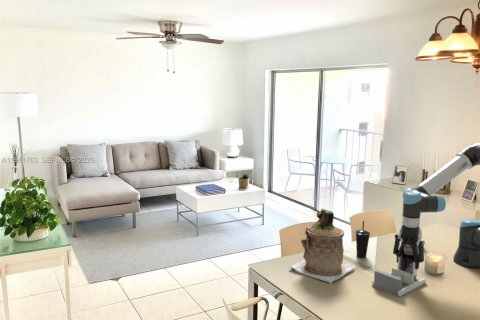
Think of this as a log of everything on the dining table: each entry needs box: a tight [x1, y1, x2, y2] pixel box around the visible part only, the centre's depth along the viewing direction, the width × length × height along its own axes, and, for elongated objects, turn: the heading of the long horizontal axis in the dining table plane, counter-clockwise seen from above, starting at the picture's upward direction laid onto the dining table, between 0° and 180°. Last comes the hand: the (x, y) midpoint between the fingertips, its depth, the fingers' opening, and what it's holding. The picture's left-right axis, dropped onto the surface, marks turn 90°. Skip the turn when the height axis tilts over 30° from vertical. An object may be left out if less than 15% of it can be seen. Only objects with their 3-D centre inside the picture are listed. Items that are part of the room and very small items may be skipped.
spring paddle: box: [391, 266, 414, 285], centre depth 189 cm, size 5×10×5 cm, turn 39°
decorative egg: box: [398, 226, 423, 248], centre depth 239 cm, size 12×12×15 cm
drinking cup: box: [355, 220, 371, 259], centre depth 221 cm, size 8×8×20 cm
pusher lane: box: [371, 269, 427, 298], centre depth 189 cm, size 22×14×7 cm, turn 129°
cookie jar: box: [289, 208, 356, 285], centre depth 202 cm, size 25×25×32 cm
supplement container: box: [400, 249, 415, 274], centre depth 192 cm, size 7×7×10 cm
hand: (406, 272), depth 193 cm, fingers closed on supplement container, 7 cm apart
